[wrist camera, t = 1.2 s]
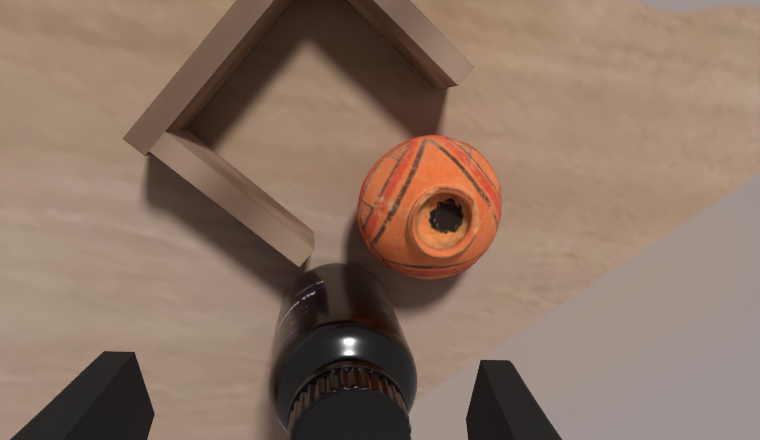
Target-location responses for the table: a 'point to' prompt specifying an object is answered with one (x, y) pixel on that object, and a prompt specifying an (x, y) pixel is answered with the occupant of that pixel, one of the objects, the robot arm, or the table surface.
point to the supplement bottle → (341, 360)
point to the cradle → (217, 63)
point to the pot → (430, 207)
